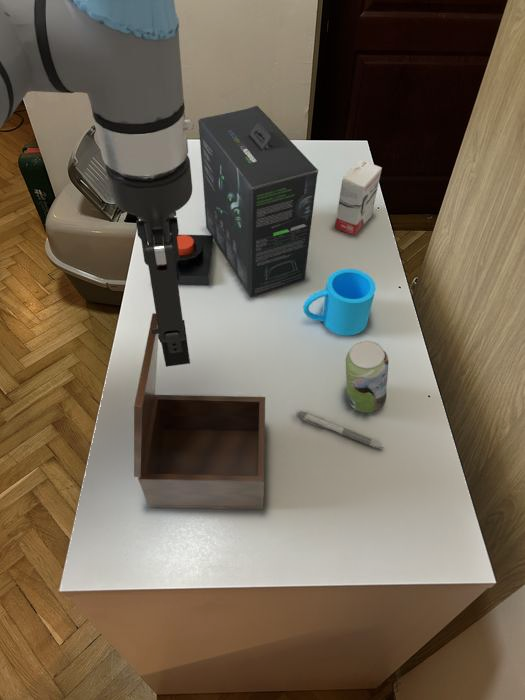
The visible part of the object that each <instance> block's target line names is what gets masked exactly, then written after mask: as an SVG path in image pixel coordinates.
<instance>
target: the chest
mask: <svg viewBox="0 0 525 700" xmlns="http://www.w3.org/2000/svg"><path fill="white" fill-rule="evenodd" d="M265 435H266V396H240V395H239V396H238V395H237V396H236V395H196V394H195V395H192V394H190V395H189V394H188V395H185V394H155V397H154V402H153V408H152V414H151V420H150V426H149V431H148V437H147V443H146V449H145V455H144V460H143V466H142V472H141V477H140V478H139V477H137V480H138V483H139V485H140V489H141V490H142V493H143V496H144V499H145V500H146V504H147V506H148V508H166V509H167V508H171V509H172V508H173V509H215V510H216V509H217V510H218V509H219V510H220V509H222V510H262V511H263V510H264V491H265V447H266V446H265V445H266V444H265V443H266V440H265V439H266V436H265Z"/></svg>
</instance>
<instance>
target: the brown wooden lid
mask: <svg viewBox="0 0 525 700" xmlns="http://www.w3.org/2000/svg"><path fill="white" fill-rule="evenodd" d="M156 327H158V324H157V317H156V312H155V313H154V312H152V314H151V319H150V323H149V330H148V334H147V339H146V343H145V344H146V345H145V350H144V354H143V360H142V364H141V369H140V375H139V380H138V384H137V389H136V396H135V400H134V405H133V476H134V478H138V477H139V478H140V477H141V472H142V466H143V460H144V455H145V449H146V443H147V437H148V431H149V426H150V420H151V414H152V408H153V402H154V397H155V395H156V386H157V385H156V384H157V383H156V382H157V368H158V367H157V366H158V349H159V339H158V335H159V334H154V335H153V334H152V328H156Z"/></svg>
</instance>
